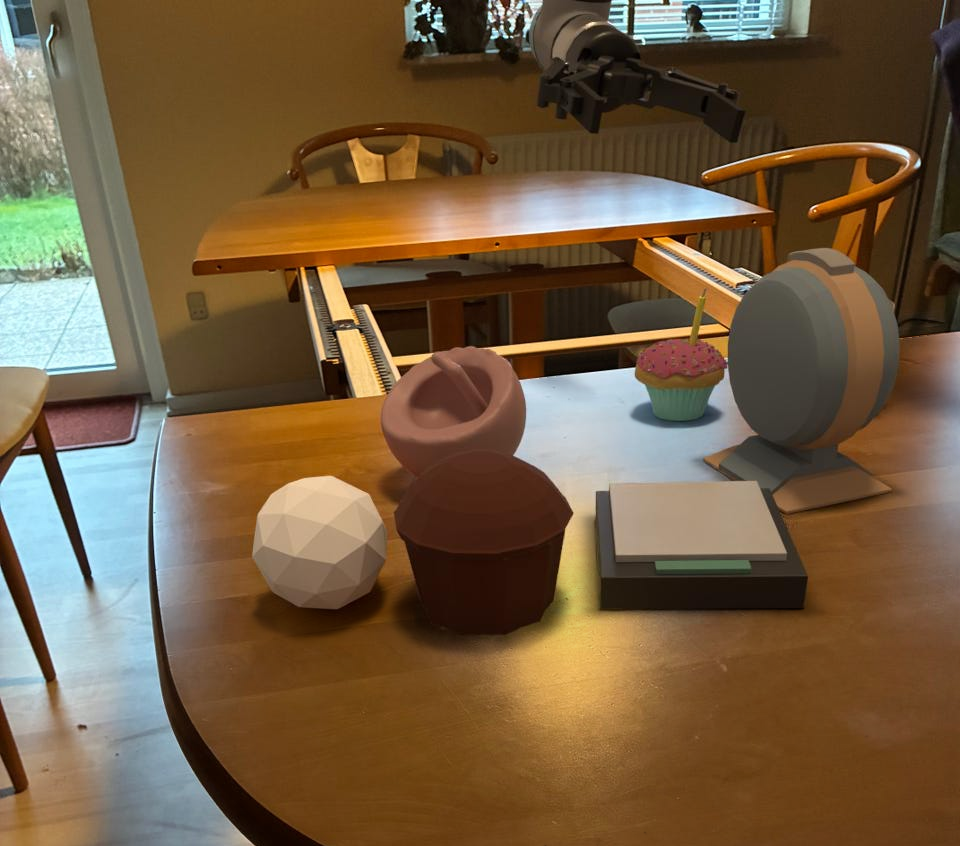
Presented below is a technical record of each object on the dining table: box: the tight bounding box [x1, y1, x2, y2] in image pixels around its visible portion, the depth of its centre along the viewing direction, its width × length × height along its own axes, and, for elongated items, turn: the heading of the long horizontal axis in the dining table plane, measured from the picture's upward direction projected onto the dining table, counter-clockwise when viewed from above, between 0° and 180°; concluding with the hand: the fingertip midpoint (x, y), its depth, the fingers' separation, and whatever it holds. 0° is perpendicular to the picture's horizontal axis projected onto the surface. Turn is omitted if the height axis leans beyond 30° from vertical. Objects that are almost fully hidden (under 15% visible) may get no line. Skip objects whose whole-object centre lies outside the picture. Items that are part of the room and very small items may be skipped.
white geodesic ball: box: [251, 475, 388, 610], centre depth 66 cm, size 9×9×12 cm
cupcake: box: [634, 287, 728, 422], centre depth 92 cm, size 9×8×12 cm
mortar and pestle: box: [380, 345, 527, 478], centre depth 81 cm, size 12×12×12 cm
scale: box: [594, 480, 809, 610], centre depth 69 cm, size 13×14×3 cm
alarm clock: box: [702, 247, 901, 515], centre depth 77 cm, size 14×10×18 cm
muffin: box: [393, 450, 575, 637], centre depth 63 cm, size 12×11×10 cm
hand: (668, 122), depth 88 cm, fingers open, 13 cm apart
